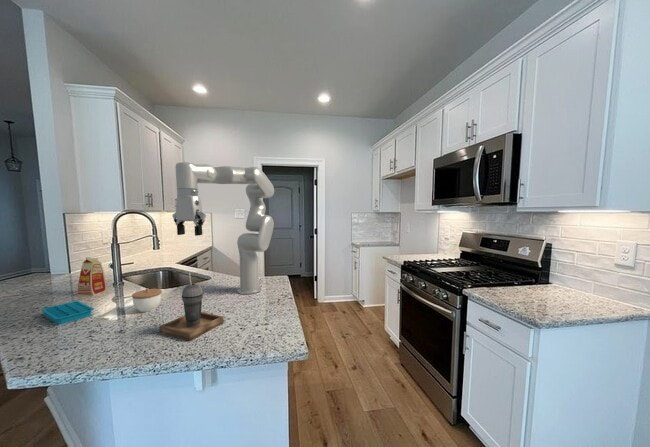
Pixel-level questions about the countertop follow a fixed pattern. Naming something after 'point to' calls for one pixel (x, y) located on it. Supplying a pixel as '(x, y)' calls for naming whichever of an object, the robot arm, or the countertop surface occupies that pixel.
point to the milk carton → (91, 278)
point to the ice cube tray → (67, 312)
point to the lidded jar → (147, 299)
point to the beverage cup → (192, 303)
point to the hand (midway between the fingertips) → (189, 234)
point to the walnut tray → (189, 333)
